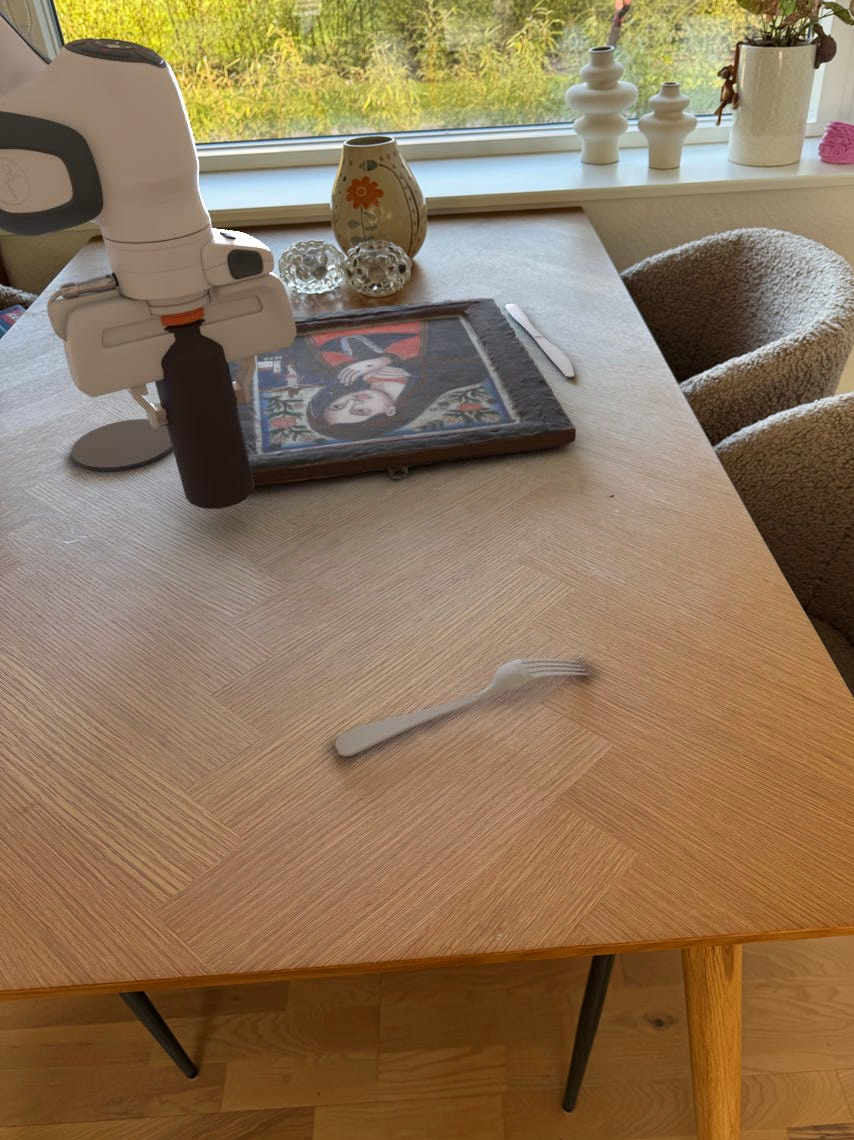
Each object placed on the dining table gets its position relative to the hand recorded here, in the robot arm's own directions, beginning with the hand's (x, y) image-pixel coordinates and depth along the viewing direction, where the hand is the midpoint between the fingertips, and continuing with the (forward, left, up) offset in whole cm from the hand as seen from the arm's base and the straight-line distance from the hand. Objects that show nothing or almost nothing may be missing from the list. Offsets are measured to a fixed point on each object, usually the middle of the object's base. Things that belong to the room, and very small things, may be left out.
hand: (201, 413), depth 90 cm
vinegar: (0, 0, -9) cm, 9 cm away
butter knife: (+53, +18, -12) cm, 57 cm away
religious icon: (+27, +17, -12) cm, 34 cm away
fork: (+5, -38, -12) cm, 40 cm away
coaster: (-3, +23, -12) cm, 27 cm away
